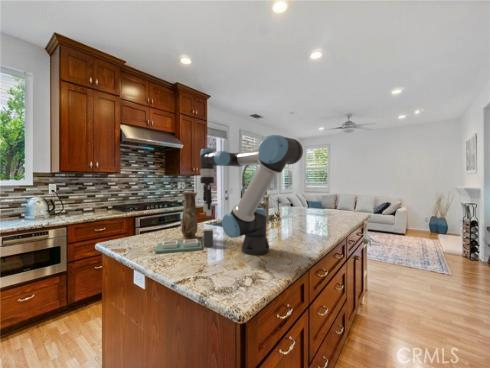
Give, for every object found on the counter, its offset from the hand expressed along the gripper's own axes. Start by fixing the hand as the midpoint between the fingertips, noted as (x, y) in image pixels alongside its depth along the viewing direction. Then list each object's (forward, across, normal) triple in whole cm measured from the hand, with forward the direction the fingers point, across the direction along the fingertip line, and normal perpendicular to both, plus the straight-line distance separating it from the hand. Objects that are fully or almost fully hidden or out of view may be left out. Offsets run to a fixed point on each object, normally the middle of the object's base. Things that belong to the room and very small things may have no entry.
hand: (207, 213), depth 132 cm
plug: (+19, -1, +1) cm, 19 cm away
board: (+19, -1, -15) cm, 24 cm away
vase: (+19, -21, -9) cm, 30 cm away
